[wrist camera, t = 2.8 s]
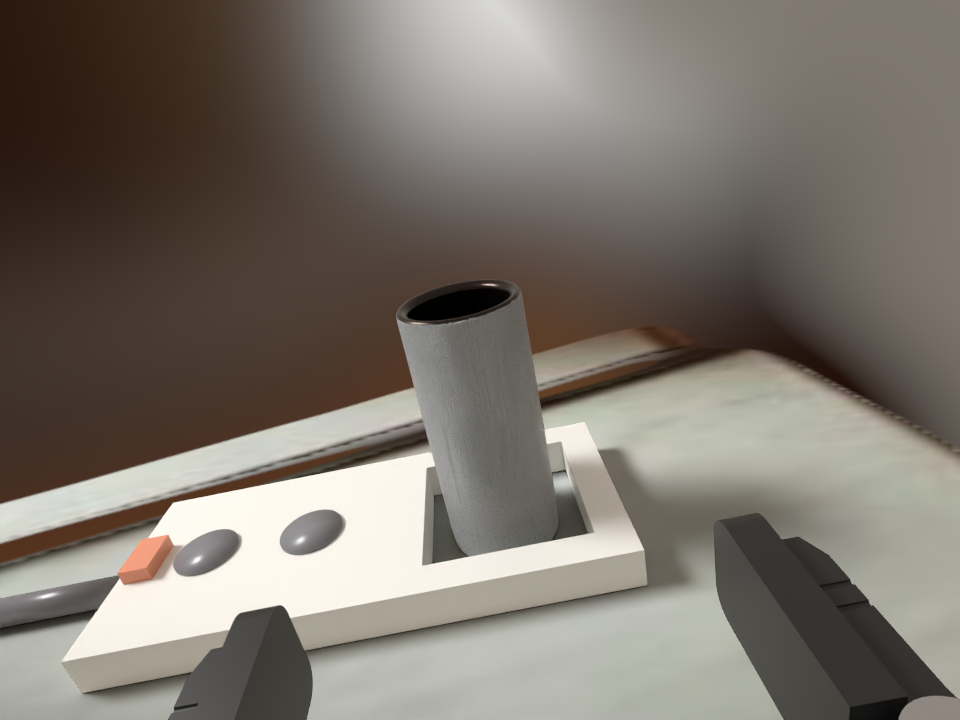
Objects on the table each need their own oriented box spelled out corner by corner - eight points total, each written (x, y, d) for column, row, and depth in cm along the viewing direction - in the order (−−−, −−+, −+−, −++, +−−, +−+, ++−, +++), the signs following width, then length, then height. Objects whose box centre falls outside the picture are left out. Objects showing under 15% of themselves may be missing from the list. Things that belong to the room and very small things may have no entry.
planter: (514, 480, 27) (473, 273, 23) (582, 524, 24) (546, 287, 20) (435, 529, 25) (373, 310, 21) (495, 584, 22) (436, 332, 18)
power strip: (-109, 729, 21) (-146, 688, 20) (49, 555, 29) (27, 520, 28) (647, 585, 20) (643, 536, 19) (588, 449, 28) (582, 411, 28)
